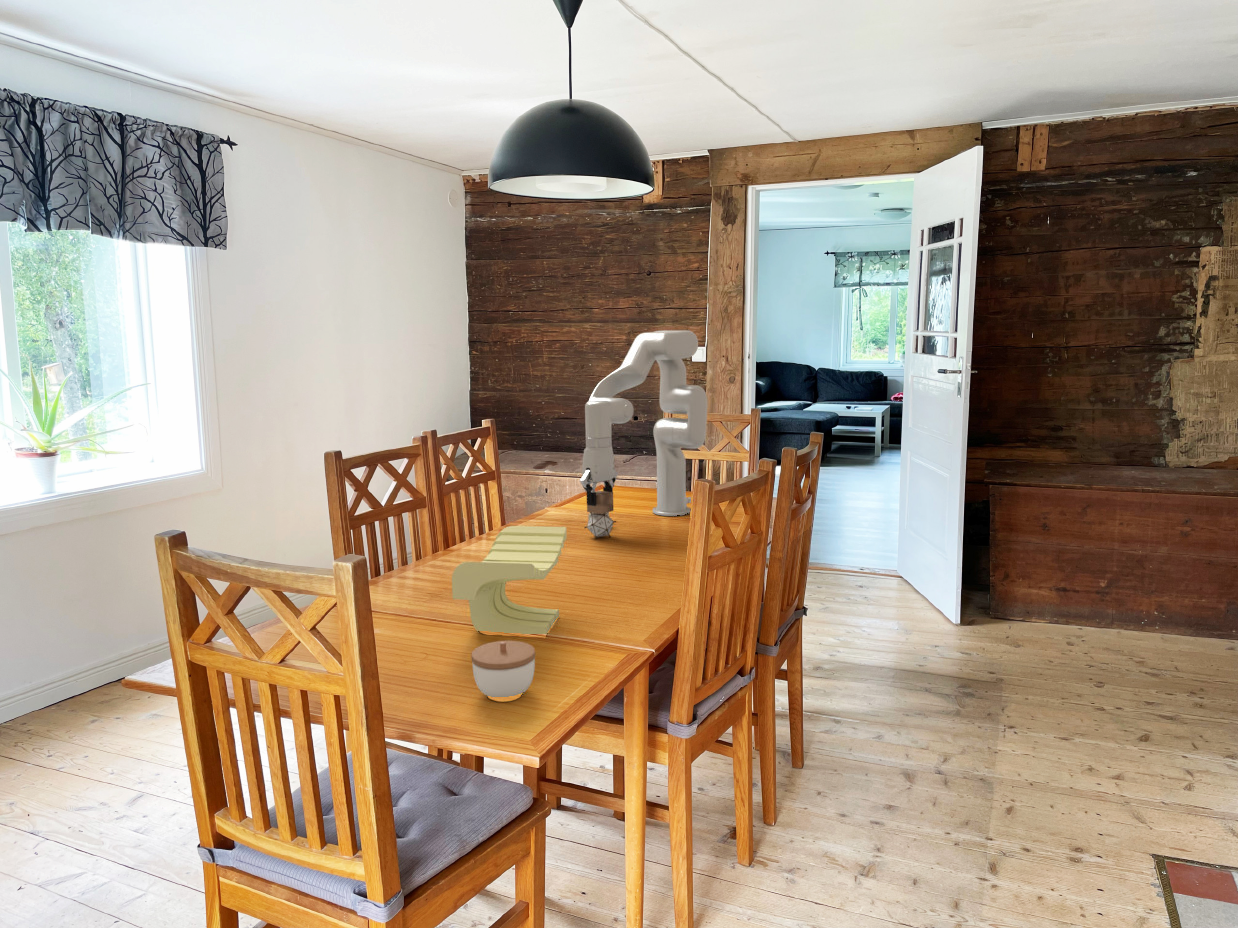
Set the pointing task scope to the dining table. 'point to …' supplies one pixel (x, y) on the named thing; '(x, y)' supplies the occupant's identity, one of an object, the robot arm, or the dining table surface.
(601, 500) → the walnut block
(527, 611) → the slatted curved stool
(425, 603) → the dining table surface
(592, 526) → the game die
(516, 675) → the lidded jar
